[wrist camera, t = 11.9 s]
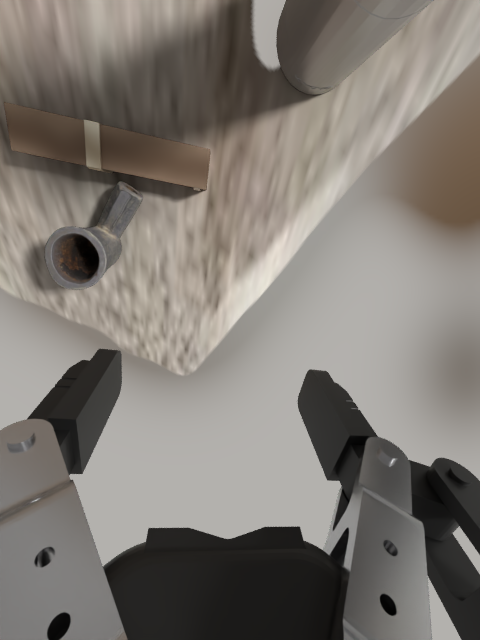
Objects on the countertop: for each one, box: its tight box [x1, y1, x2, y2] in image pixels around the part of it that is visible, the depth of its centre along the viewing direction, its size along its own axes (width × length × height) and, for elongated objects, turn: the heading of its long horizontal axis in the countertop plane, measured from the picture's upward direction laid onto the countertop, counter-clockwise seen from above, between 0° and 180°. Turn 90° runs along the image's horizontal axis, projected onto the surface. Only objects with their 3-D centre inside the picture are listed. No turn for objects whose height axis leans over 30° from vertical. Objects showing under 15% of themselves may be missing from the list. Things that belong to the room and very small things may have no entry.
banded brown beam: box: [4, 102, 210, 191], centre depth 29 cm, size 4×20×4 cm, turn 80°
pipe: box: [45, 181, 143, 290], centre depth 30 cm, size 6×13×8 cm, turn 142°
